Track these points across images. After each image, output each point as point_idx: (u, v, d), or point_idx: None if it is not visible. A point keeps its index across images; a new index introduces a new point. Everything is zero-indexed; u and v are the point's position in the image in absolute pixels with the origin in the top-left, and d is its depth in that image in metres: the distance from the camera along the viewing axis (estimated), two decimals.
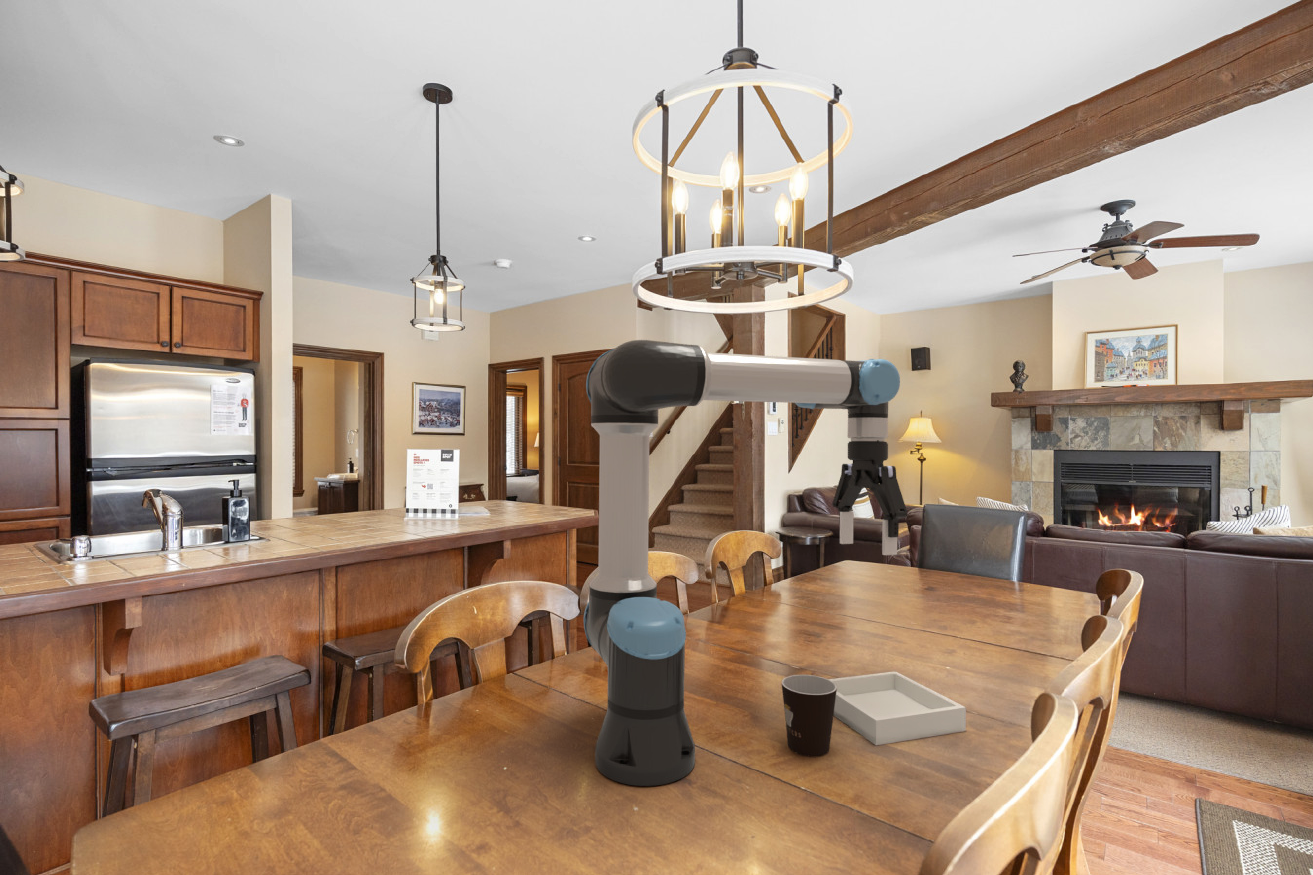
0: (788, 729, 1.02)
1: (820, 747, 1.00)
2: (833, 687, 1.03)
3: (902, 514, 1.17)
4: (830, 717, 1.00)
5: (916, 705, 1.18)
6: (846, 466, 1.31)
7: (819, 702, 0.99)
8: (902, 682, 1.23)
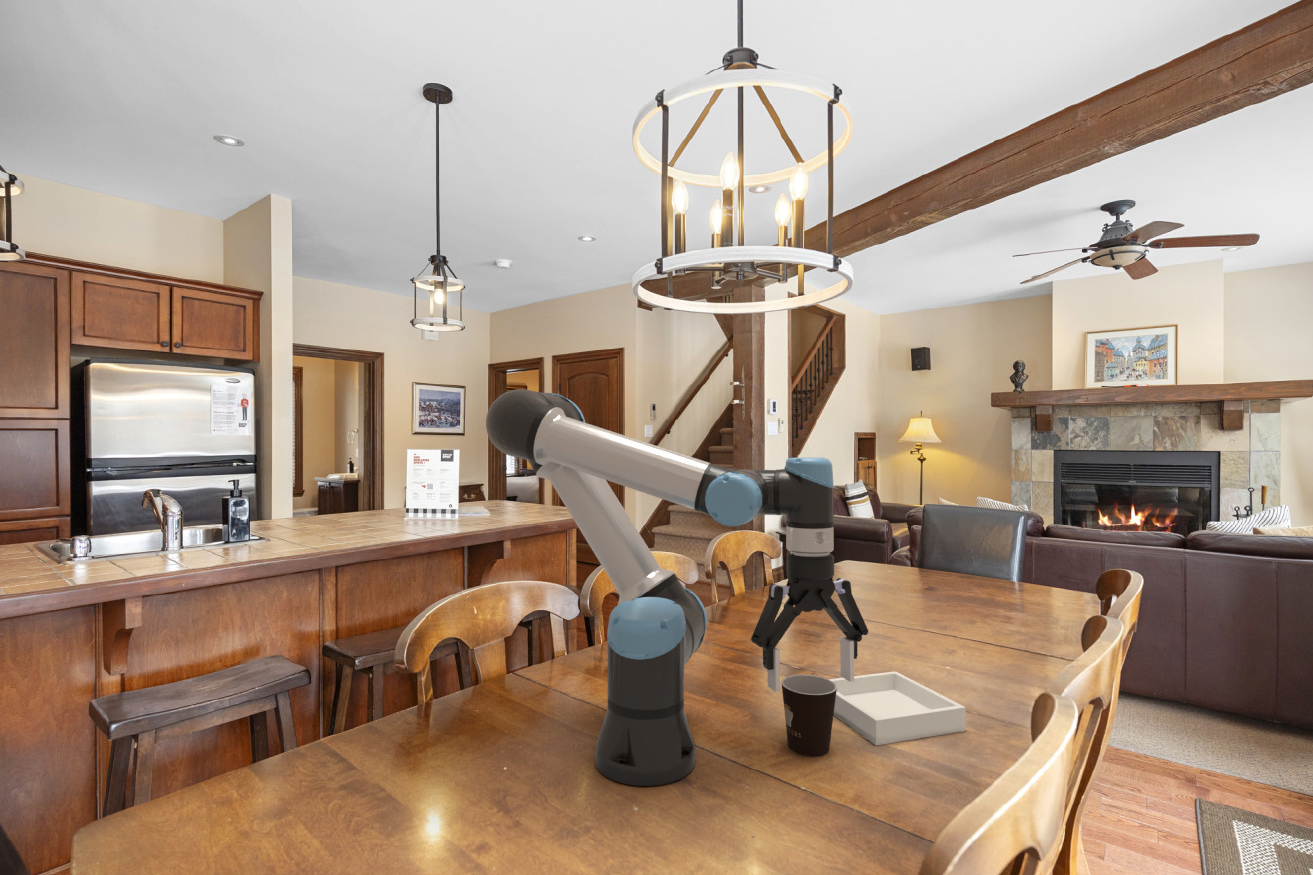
0: (788, 729, 1.02)
1: (820, 747, 1.00)
2: (833, 687, 1.03)
3: (754, 641, 1.01)
4: (830, 717, 1.00)
5: (916, 705, 1.18)
6: None
7: (819, 702, 0.99)
8: (902, 682, 1.23)
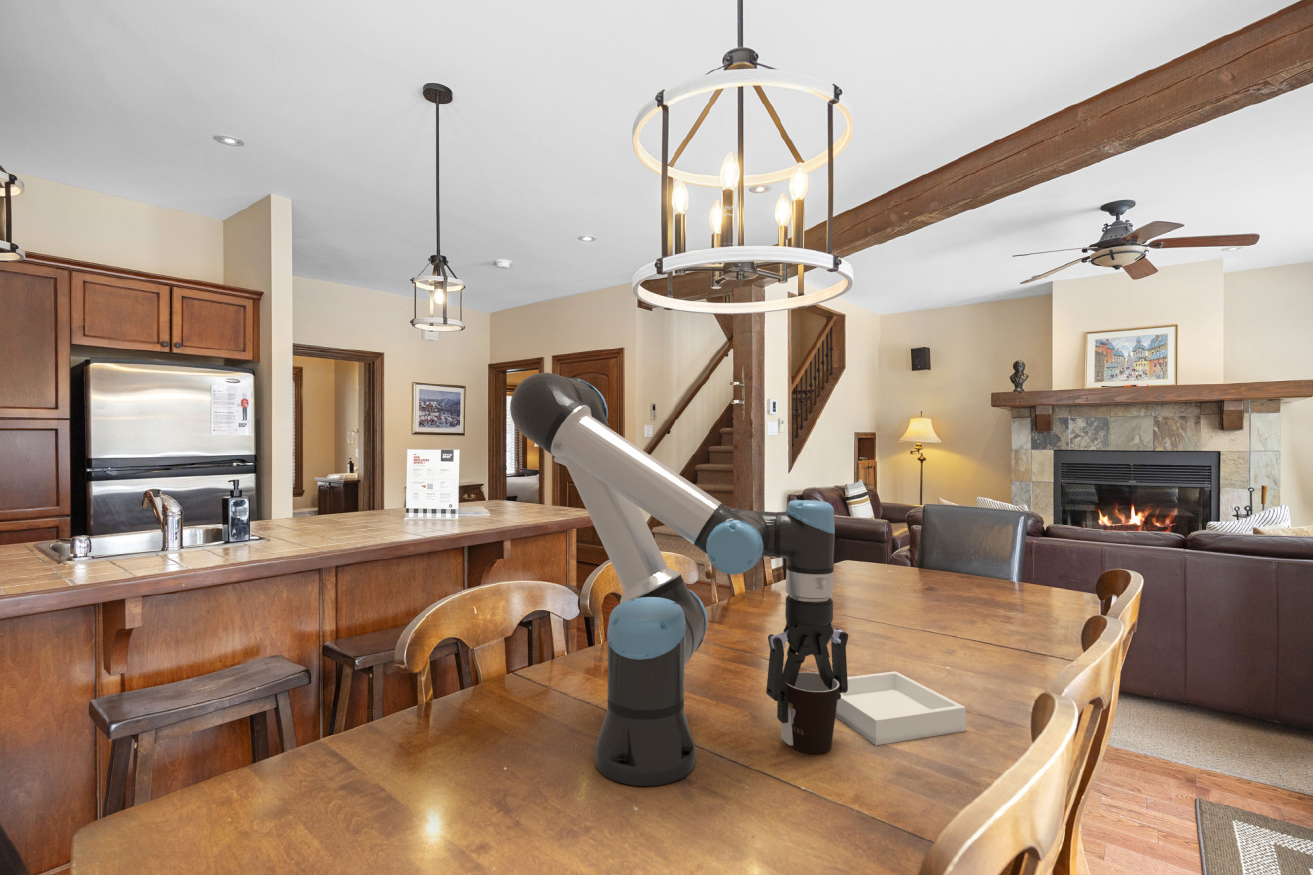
0: None
1: (822, 744, 1.00)
2: (835, 684, 1.03)
3: (770, 696, 1.02)
4: (832, 714, 1.01)
5: (916, 705, 1.18)
6: None
7: (822, 699, 0.99)
8: (902, 682, 1.23)
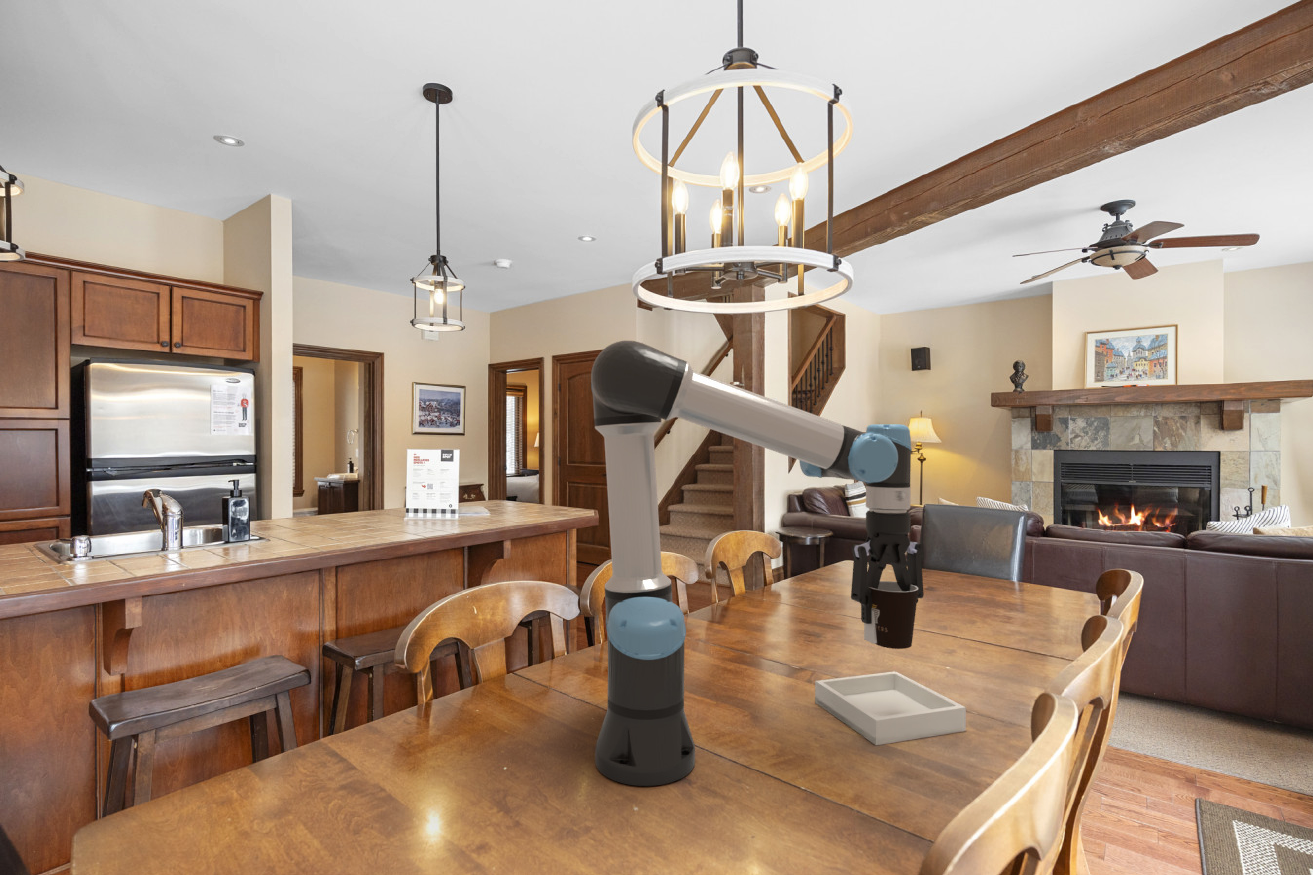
0: None
1: (905, 640, 1.11)
2: (914, 589, 1.14)
3: (855, 599, 1.13)
4: (913, 613, 1.11)
5: (916, 705, 1.18)
6: None
7: (905, 599, 1.10)
8: (902, 682, 1.23)
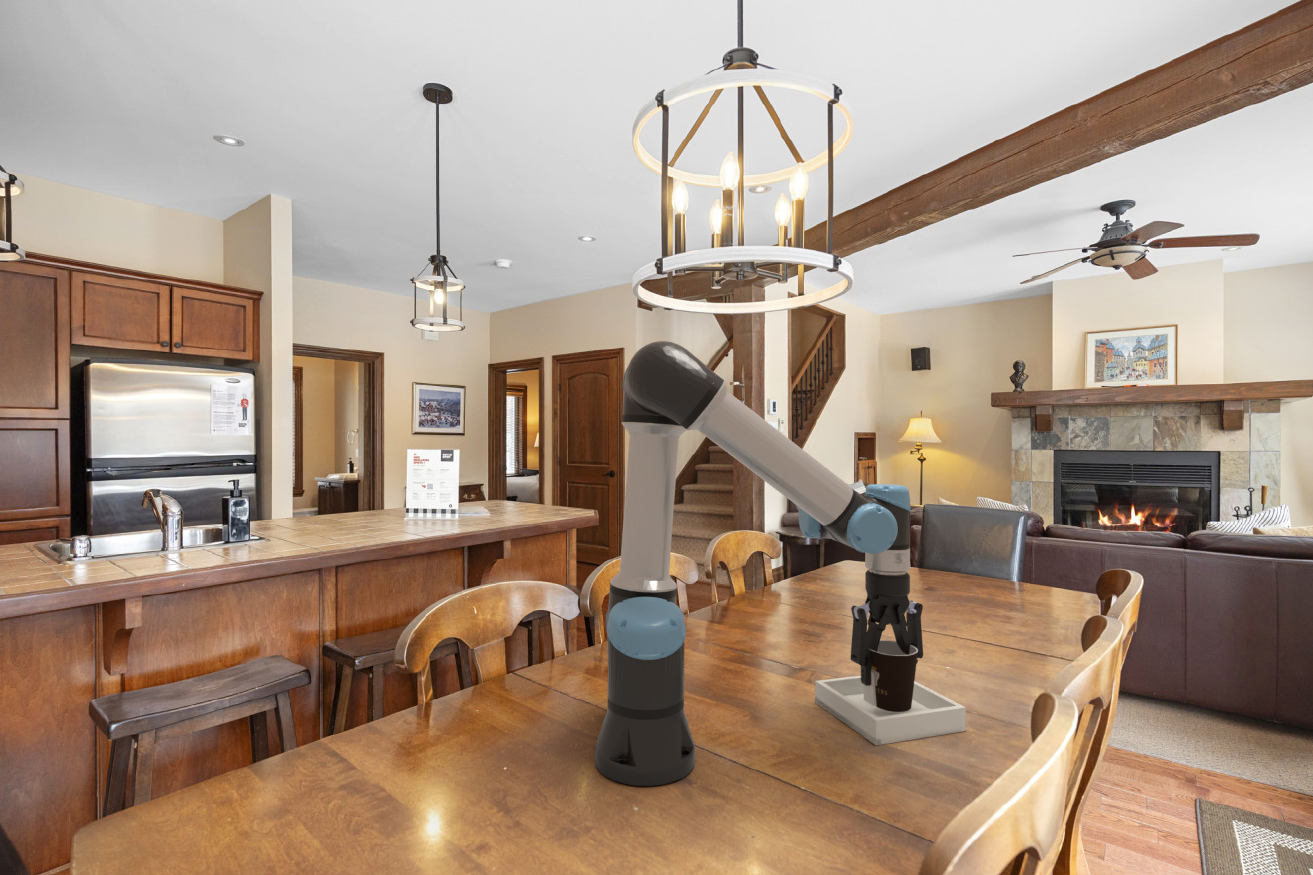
0: None
1: (905, 703, 1.11)
2: (913, 650, 1.14)
3: (855, 661, 1.13)
4: (913, 676, 1.11)
5: (916, 705, 1.18)
6: None
7: (904, 662, 1.10)
8: None
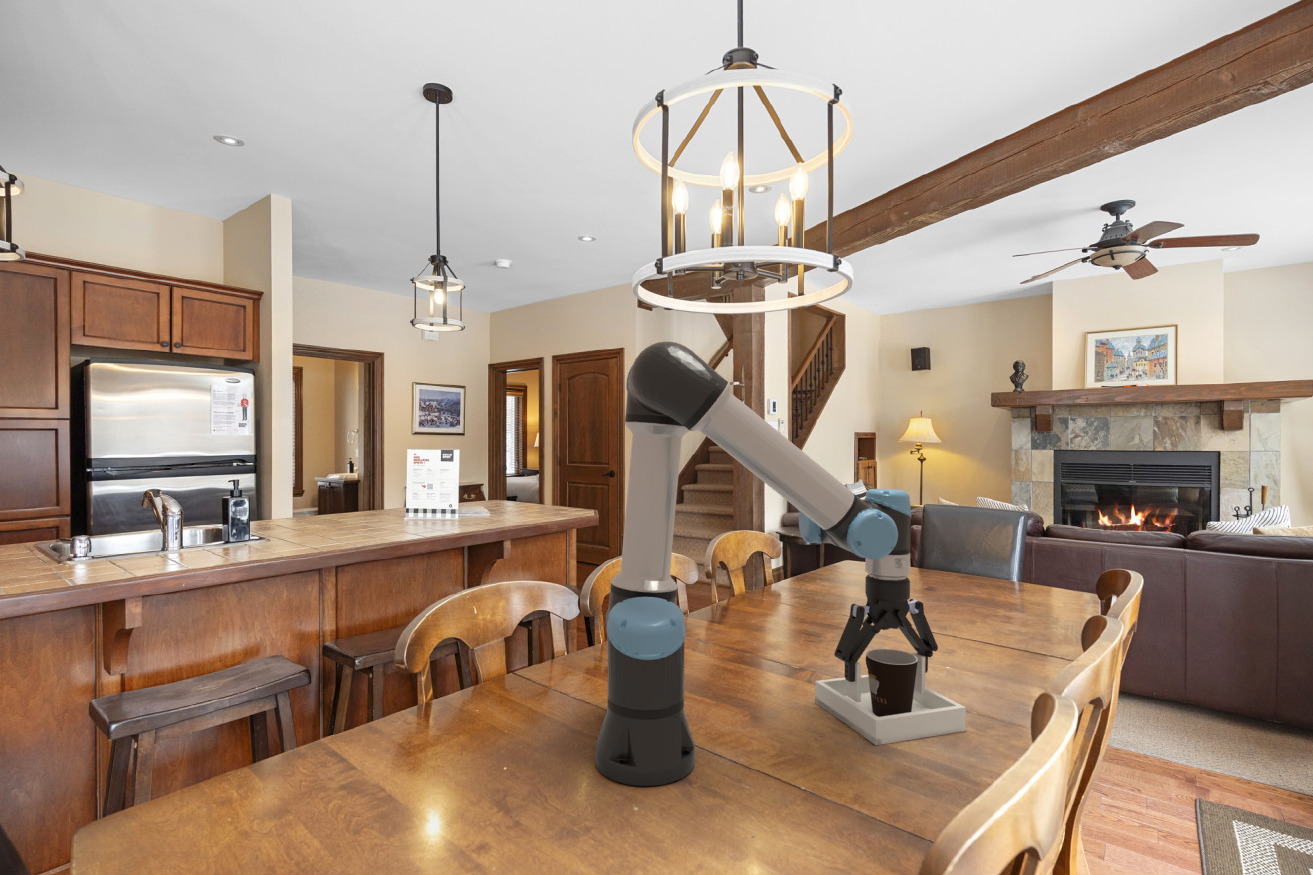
0: (873, 697, 1.13)
1: (904, 712, 1.11)
2: (913, 659, 1.14)
3: (838, 656, 1.12)
4: (913, 685, 1.11)
5: (916, 705, 1.18)
6: (910, 602, 1.18)
7: (904, 671, 1.10)
8: None
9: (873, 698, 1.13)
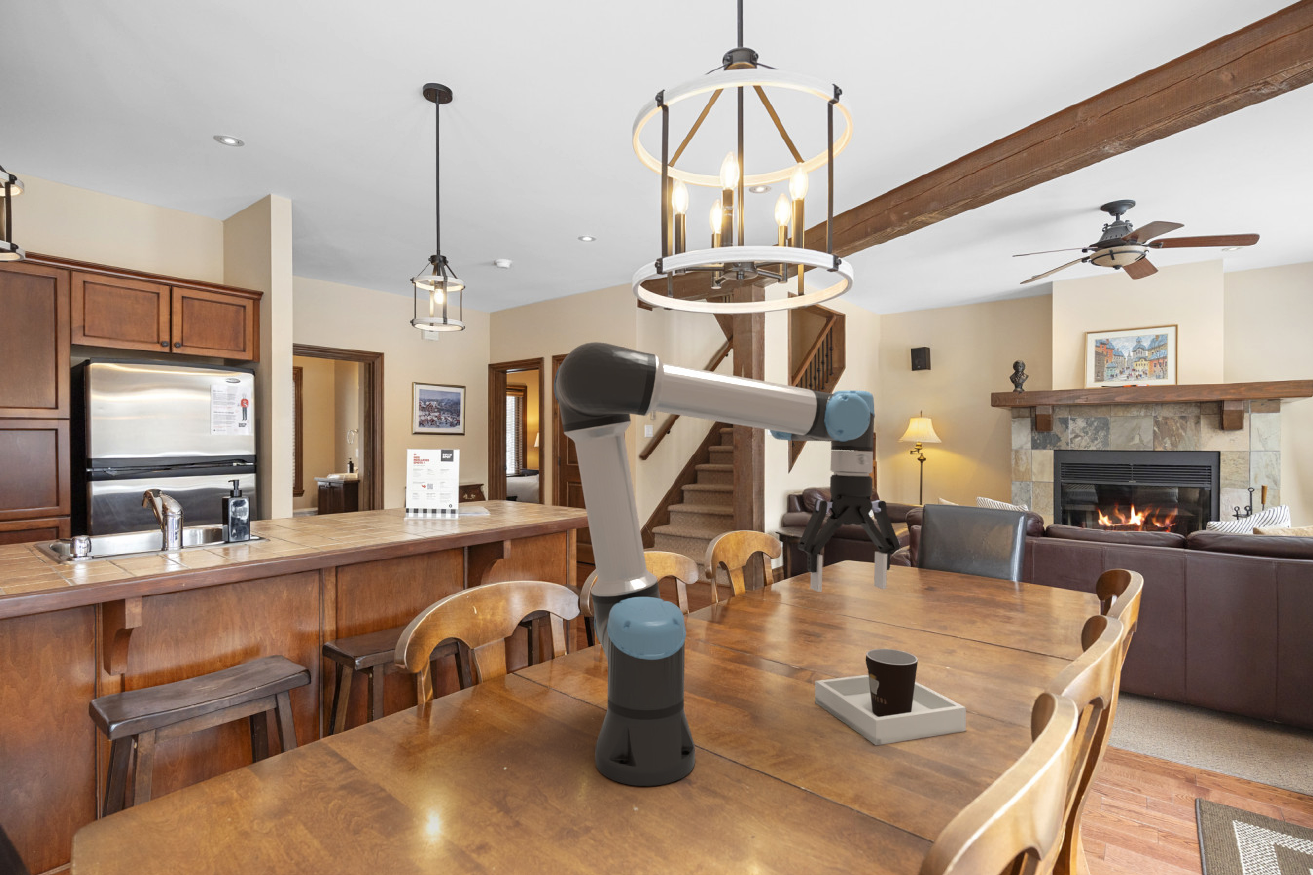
0: (873, 697, 1.13)
1: (904, 712, 1.11)
2: (913, 659, 1.14)
3: (801, 547, 1.17)
4: (913, 685, 1.11)
5: (916, 705, 1.18)
6: None
7: (904, 671, 1.10)
8: None
9: (873, 698, 1.13)
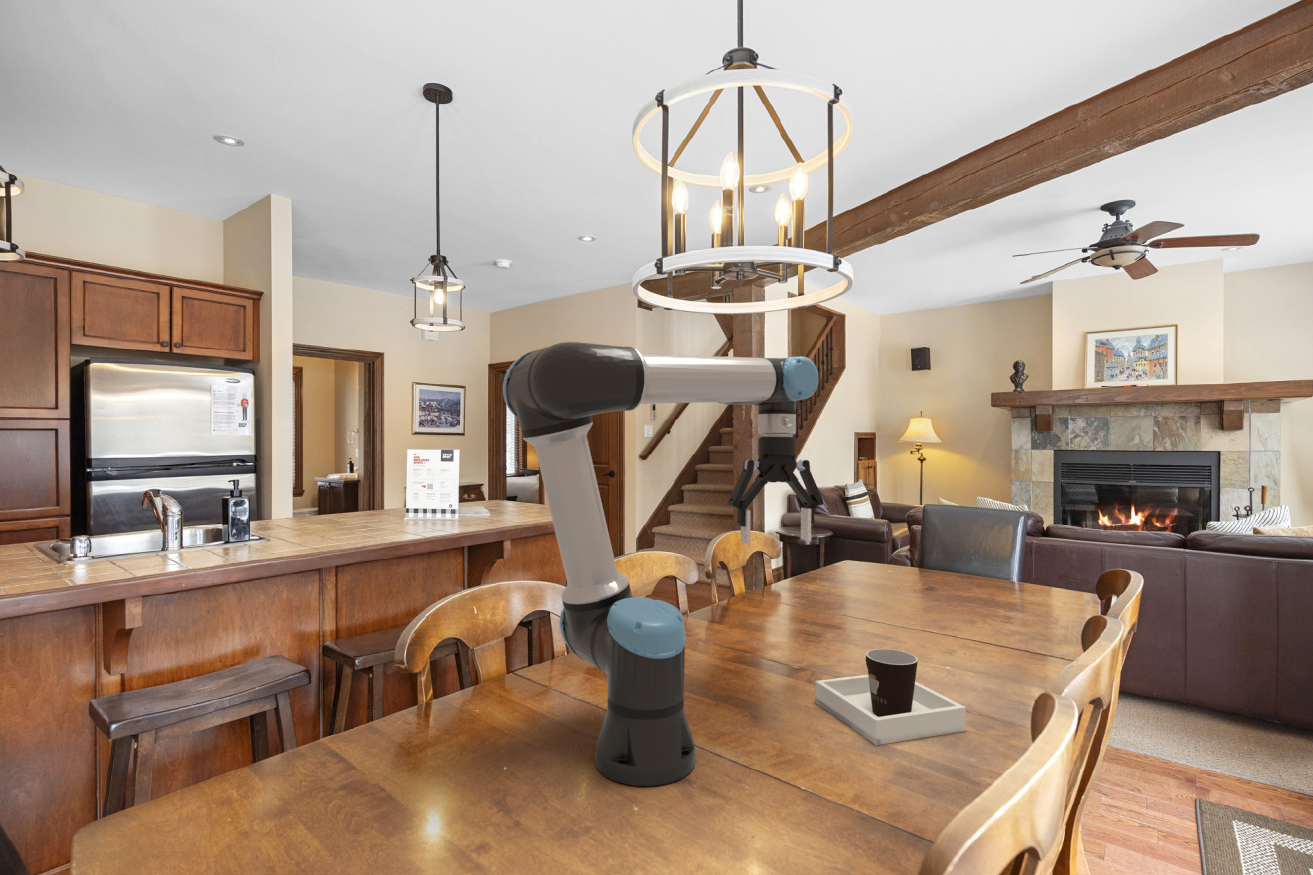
0: (873, 697, 1.13)
1: (904, 712, 1.11)
2: (913, 659, 1.14)
3: (730, 503, 1.27)
4: (913, 685, 1.11)
5: (916, 705, 1.18)
6: None
7: (904, 671, 1.10)
8: None
9: (873, 698, 1.13)
